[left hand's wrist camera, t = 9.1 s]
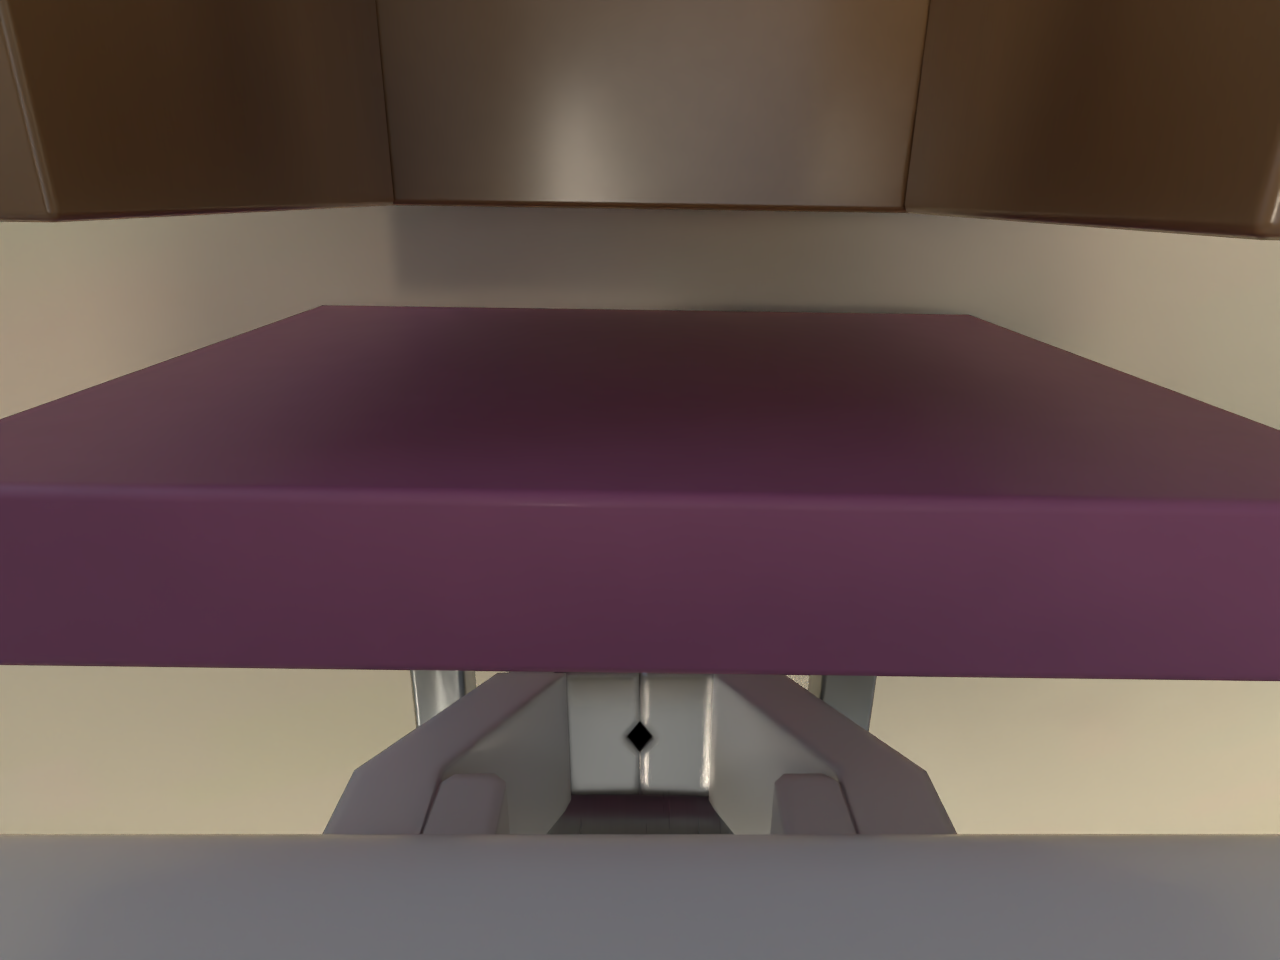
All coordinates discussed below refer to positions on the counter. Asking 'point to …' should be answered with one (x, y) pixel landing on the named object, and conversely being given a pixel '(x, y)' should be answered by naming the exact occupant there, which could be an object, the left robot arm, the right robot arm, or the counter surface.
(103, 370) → the counter surface
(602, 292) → the counter surface
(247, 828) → the counter surface
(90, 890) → the left robot arm
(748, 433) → the drawer
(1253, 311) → the counter surface
